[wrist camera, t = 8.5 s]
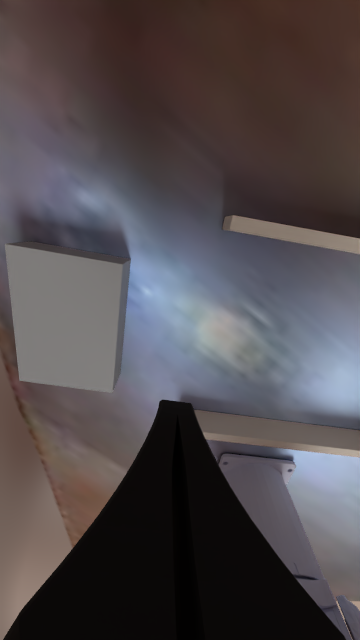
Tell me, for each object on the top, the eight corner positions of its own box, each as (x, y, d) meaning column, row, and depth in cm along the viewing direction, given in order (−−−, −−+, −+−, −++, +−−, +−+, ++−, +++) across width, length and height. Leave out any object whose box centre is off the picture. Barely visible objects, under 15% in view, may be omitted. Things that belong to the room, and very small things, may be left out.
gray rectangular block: (121, 370, 21) (112, 392, 18) (41, 359, 20) (19, 380, 17) (131, 258, 17) (122, 264, 14) (34, 240, 16) (4, 243, 14)
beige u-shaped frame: (365, 437, 23) (386, 460, 21) (181, 414, 22) (181, 436, 20) (477, 263, 17) (525, 269, 14) (224, 216, 15) (232, 215, 13)
